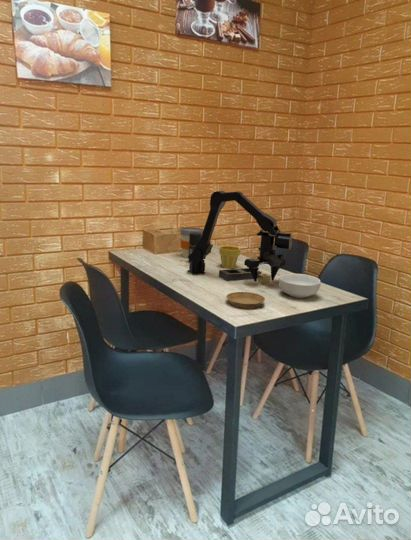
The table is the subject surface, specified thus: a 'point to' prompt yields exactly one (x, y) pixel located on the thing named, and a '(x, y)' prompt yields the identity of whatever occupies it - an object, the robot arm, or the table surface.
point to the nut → (264, 279)
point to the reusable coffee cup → (187, 239)
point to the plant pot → (229, 256)
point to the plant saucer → (245, 299)
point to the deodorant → (193, 241)
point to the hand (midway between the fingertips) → (263, 280)
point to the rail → (237, 274)
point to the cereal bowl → (299, 285)
